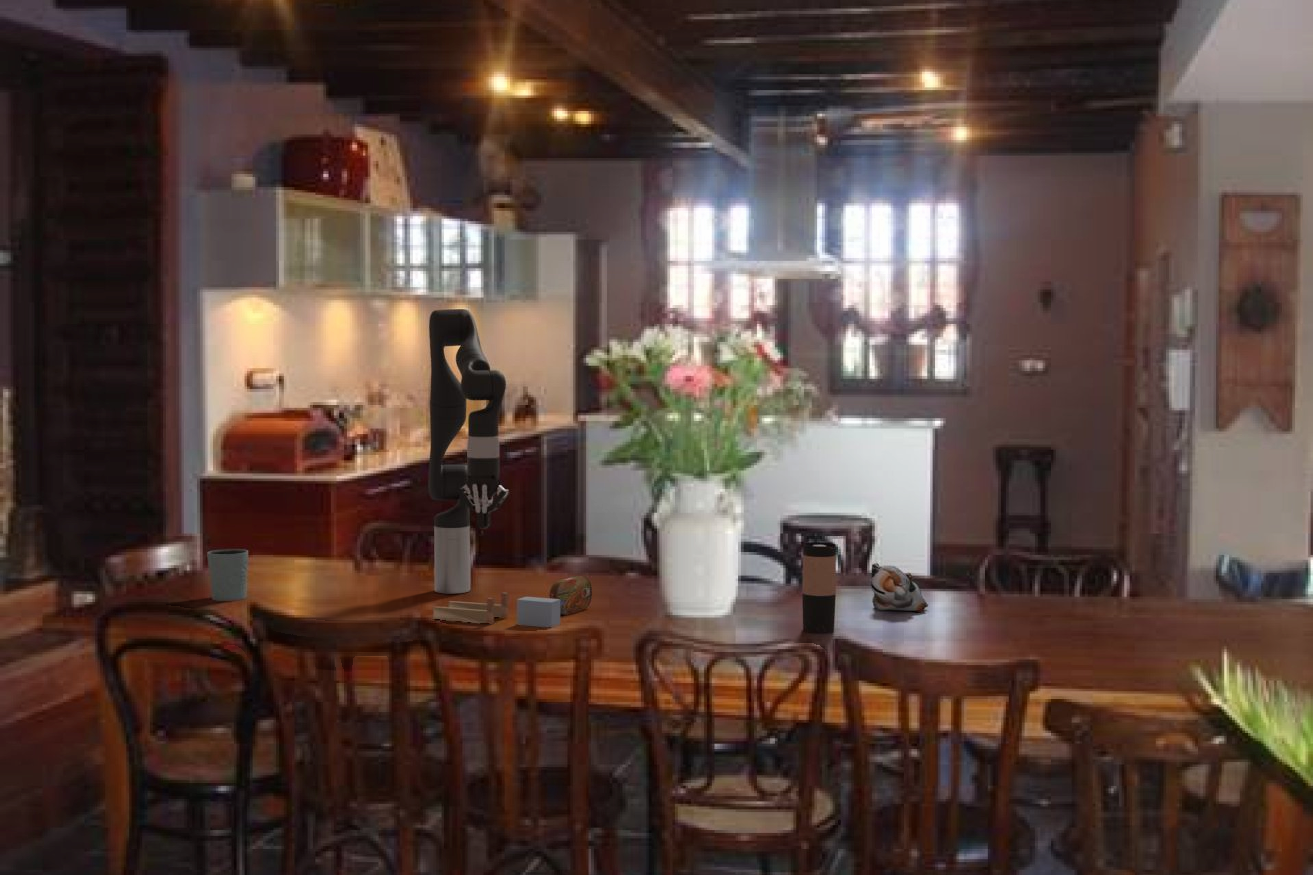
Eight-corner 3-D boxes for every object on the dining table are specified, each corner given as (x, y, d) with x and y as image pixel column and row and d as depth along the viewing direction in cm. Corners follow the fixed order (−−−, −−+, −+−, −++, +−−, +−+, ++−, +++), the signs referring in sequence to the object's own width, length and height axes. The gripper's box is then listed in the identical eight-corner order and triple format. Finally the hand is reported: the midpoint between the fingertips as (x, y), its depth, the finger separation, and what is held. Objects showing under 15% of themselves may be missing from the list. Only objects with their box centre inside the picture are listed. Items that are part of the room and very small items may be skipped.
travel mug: (799, 627, 357) (800, 541, 355) (831, 626, 357) (832, 541, 356) (805, 633, 349) (806, 546, 348) (838, 633, 350) (839, 546, 348)
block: (525, 621, 362) (525, 596, 362) (560, 624, 359) (560, 599, 358) (517, 625, 358) (517, 599, 358) (551, 628, 355) (551, 602, 354)
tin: (557, 617, 367) (557, 582, 367) (546, 616, 369) (547, 581, 368) (593, 607, 380) (593, 574, 379) (582, 606, 382) (582, 573, 381)
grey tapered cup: (237, 602, 384) (236, 554, 383) (200, 600, 386) (199, 553, 385) (255, 595, 394) (255, 549, 393) (219, 593, 396) (218, 547, 395)
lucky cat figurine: (937, 611, 377) (926, 566, 370) (895, 633, 374) (884, 587, 367) (905, 585, 390) (894, 540, 383) (864, 605, 387) (853, 561, 380)
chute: (451, 613, 371) (451, 588, 371) (508, 617, 366) (508, 592, 366) (433, 619, 363) (433, 594, 363) (491, 624, 358) (491, 598, 357)
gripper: (515, 454, 362) (515, 527, 363) (465, 452, 366) (465, 524, 368) (502, 457, 355) (502, 531, 356) (450, 455, 359) (451, 528, 361)
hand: (483, 528), depth 362 cm, fingers closed
